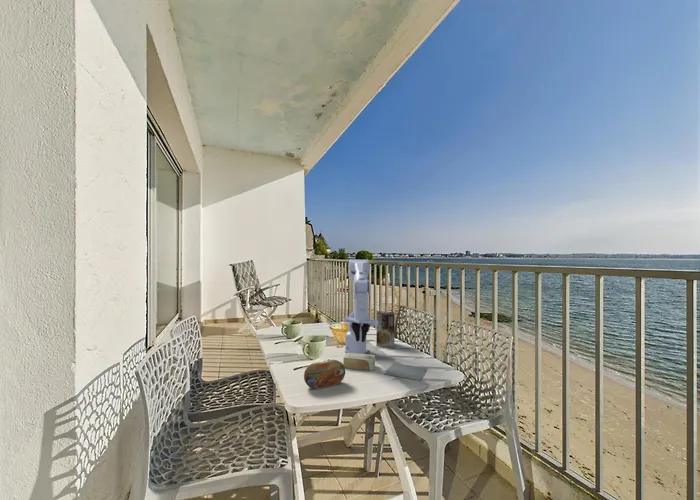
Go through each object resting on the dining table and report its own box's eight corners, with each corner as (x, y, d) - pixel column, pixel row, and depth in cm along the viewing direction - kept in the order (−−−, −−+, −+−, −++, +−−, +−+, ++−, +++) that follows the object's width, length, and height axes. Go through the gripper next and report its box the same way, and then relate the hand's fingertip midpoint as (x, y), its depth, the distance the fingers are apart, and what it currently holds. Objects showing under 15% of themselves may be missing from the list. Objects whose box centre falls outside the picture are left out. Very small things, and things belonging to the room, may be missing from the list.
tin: (305, 391, 107) (306, 366, 107) (302, 387, 110) (303, 363, 110) (345, 383, 114) (346, 359, 114) (341, 380, 117) (342, 357, 117)
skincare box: (375, 365, 132) (346, 362, 135) (375, 354, 132) (346, 352, 134) (372, 371, 125) (342, 368, 128) (372, 360, 125) (342, 357, 128)
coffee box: (394, 343, 163) (394, 311, 163) (394, 347, 157) (395, 314, 156) (376, 342, 164) (376, 311, 164) (375, 346, 158) (376, 313, 157)
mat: (384, 374, 122) (384, 373, 122) (393, 363, 134) (393, 362, 134) (420, 381, 117) (420, 380, 117) (426, 368, 129) (427, 368, 129)
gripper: (341, 308, 132) (340, 341, 133) (374, 312, 127) (373, 346, 127) (348, 306, 139) (347, 337, 139) (379, 309, 133) (379, 341, 133)
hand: (360, 341), depth 133 cm, fingers closed
